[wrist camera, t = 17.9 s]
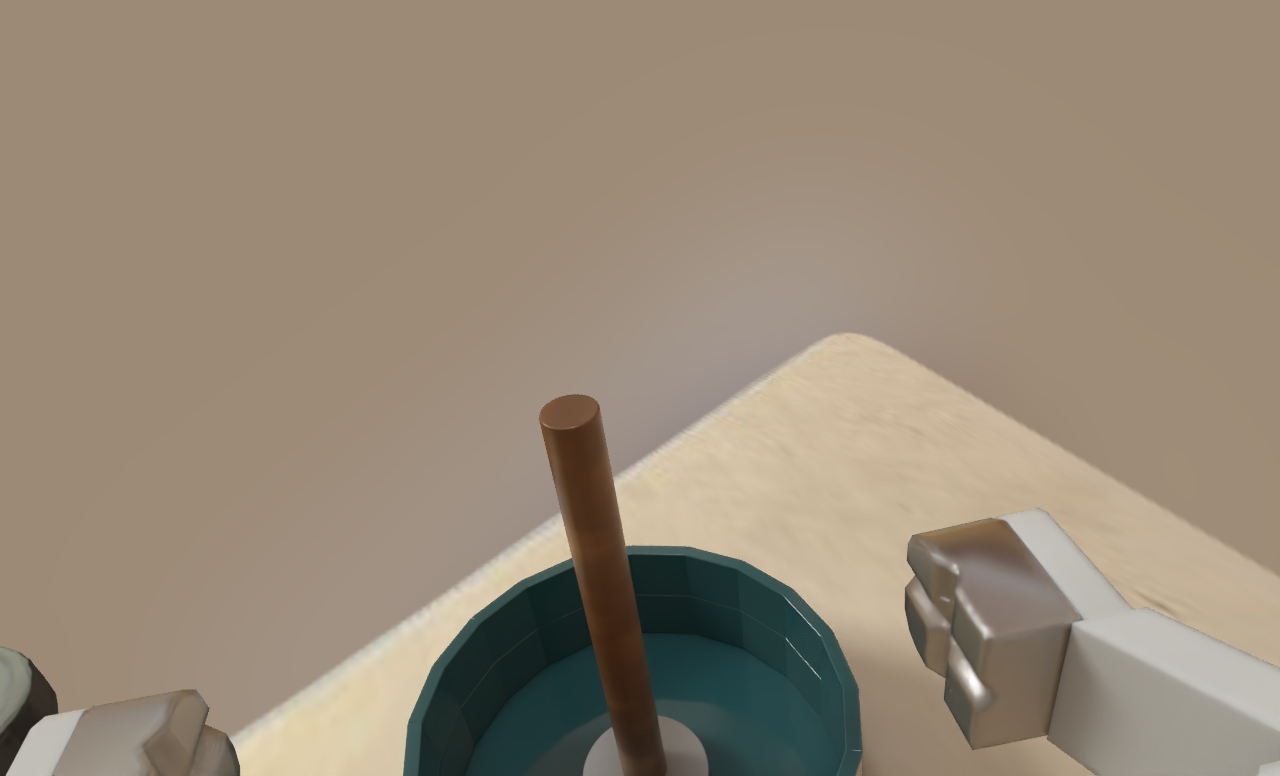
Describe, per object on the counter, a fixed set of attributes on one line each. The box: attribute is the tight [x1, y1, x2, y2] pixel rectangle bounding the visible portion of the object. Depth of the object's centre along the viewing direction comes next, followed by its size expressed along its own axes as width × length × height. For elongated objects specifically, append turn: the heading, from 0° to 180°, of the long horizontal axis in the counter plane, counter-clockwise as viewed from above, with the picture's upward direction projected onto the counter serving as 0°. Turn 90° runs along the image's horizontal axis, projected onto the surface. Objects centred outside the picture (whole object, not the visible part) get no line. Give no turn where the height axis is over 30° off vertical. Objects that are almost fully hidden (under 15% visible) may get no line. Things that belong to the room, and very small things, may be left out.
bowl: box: [403, 546, 863, 776], centre depth 34 cm, size 17×17×6 cm
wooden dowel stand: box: [539, 395, 710, 776], centre depth 30 cm, size 5×5×19 cm
